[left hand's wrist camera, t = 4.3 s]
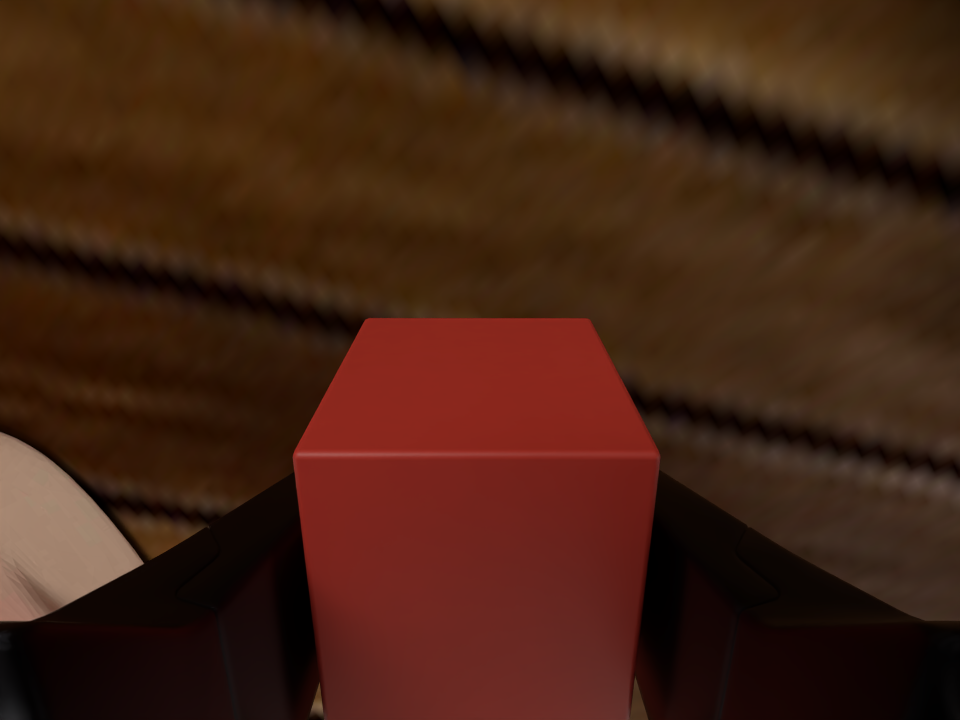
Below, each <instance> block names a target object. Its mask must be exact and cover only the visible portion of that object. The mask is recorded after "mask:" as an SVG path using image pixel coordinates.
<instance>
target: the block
mask: <svg viewBox="0 0 960 720" xmlns="http://www.w3.org/2000/svg"><path fill="white" fill-rule="evenodd" d="M660 458H661V456H660V453H659V451H658V449H657V447H656V445H655V443H654V441H653V439H652V437H651V435H650V433H649V431H648V430H647V428H646V426H645V424H644V422H643V420H642V418H641V416H640V414H639V412H638V410H637V408H636V407H635V405H634V403H633V401H632V399H631V397H630V395H629V393H628V391H627V389H626V387H625V385H624V384H623V382H622V380H621V378H620V376H619V374H618V372H617V370H616V368H615V366H614V364H613V362H612V360H611V359H610V357H609V355H608V353H607V351H606V349H605V347H604V345H603V343H602V341H601V339H600V337H599V336H598V334H597V332H596V330H595V328H594V326H593V324H592V322H591V320H589V319H587V318H368V319H366V320H365V321H364V323H363V325H362V327H361V329H360V331H359V332H358V334H357V336H356V338H355V340H354V342H353V344H352V345H351V347H350V349H349V351H348V353H347V355H346V357H345V358H344V360H343V362H342V364H341V366H340V368H339V370H338V371H337V373H336V375H335V377H334V379H333V381H332V382H331V384H330V386H329V388H328V390H327V392H326V394H325V395H324V397H323V399H322V401H321V403H320V405H319V407H318V408H317V410H316V412H315V414H314V416H313V418H312V420H311V421H310V423H309V425H308V427H307V429H306V431H305V433H304V434H303V436H302V438H301V440H300V442H299V444H298V446H297V447H296V449H295V451H294V454H293V463H294V471H295V480H296V488H297V496H298V505H299V513H300V521H301V530H302V538H303V546H304V555H305V563H306V571H307V579H308V588H309V596H310V604H311V613H312V621H313V629H314V638H315V646H316V654H317V663H318V671H319V679H320V688H321V696H322V704H323V713H324V720H630V713H631V704H632V696H633V687H634V679H635V670H636V662H637V653H638V645H639V636H640V628H641V619H642V611H643V602H644V594H645V585H646V577H647V568H648V560H649V551H650V543H651V534H652V526H653V517H654V509H655V500H656V492H657V483H658V475H659V466H660Z"/></svg>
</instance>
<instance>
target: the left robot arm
mask: <svg viewBox="0 0 960 720" xmlns="http://www.w3.org/2000/svg"><path fill="white" fill-rule="evenodd" d="M635 676H636V680H637V683H638V686H639V690H640V693H641V696H642V700H643V703H644V706H645V710H646V713H647V716H648V720H960V621H924V620H921V619H919V618H916V617H913V616H911V615H908V614H906V613H904V612H902V611H900V610H898V609H896V608H894V607H892V606H890V605H889V604H887V603H885V602H883V601H881V600H879V599H877V598H875V597H873V596H872V595H870V594H868V593H866V592H864V591H862V590H860V589H858V588H856V587H855V586H853V585H851V584H849V583H847V582H845V581H843V580H841V579H839V578H838V577H836V576H834V575H832V574H830V573H828V572H826V571H824V570H822V569H821V568H819V567H817V566H815V565H813V564H811V563H810V562H808V561H806V560H804V559H802V558H801V557H799V556H797V555H795V554H793V553H792V552H790V551H788V550H787V549H785V548H783V547H782V546H780V545H778V544H777V543H775V542H773V541H772V540H770V539H768V538H767V537H765V536H763V535H762V534H760V533H759V532H757V531H756V530H754V529H752V528H751V527H749V528H748V526H747V525H746V524H744V523H743V522H741V521H740V520H738V519H736V518H735V517H733V516H732V515H730V514H728V513H727V512H725V511H724V510H722V509H721V508H719V507H717V506H716V505H714V504H713V503H711V502H709V501H708V500H706V499H705V498H703V497H702V496H700V495H698V494H697V493H695V492H694V491H692V490H690V489H689V488H687V487H686V486H684V485H683V484H681V483H679V482H678V481H676V480H675V479H673V478H671V477H670V476H668V475H667V474H665V473H663V472H662V471H660V470H659V475H658V483H657V492H656V500H655V509H654V517H653V526H652V534H651V543H650V551H649V560H648V568H647V577H646V585H645V594H644V602H643V611H642V619H641V628H640V636H639V645H638V653H637V662H636V670H635ZM319 682H320V679H319V671H318V663H317V654H316V646H315V638H314V629H313V621H312V613H311V604H310V596H309V588H308V579H307V571H306V563H305V555H304V546H303V538H302V530H301V521H300V513H299V505H298V496H297V488H296V480H295V472H293V473H292V474H290V475H289V476H287V477H285V478H284V479H282V480H281V481H279V482H277V483H276V484H274V485H273V486H271V487H269V488H268V489H266V490H265V491H263V492H261V493H260V494H258V495H257V496H255V497H253V498H252V499H250V500H249V501H247V502H245V503H244V504H242V505H241V506H239V507H237V508H236V509H234V510H233V511H231V512H229V513H228V514H226V515H225V516H223V517H221V518H220V519H218V520H217V521H215V522H213V523H212V524H210V525H209V527H206V528H204V529H202V530H201V531H199V532H197V533H196V534H194V535H193V536H191V537H189V538H188V539H186V540H184V541H183V542H181V543H179V544H178V545H176V546H174V547H173V548H171V549H169V550H168V551H166V552H164V553H163V554H161V555H159V556H157V557H155V558H153V559H152V560H150V561H148V562H146V563H144V564H142V565H141V566H139V567H137V568H135V569H133V570H131V571H129V572H127V573H126V574H124V575H122V576H120V577H118V578H116V579H114V580H112V581H110V582H108V583H107V584H105V585H103V586H101V587H99V588H97V589H95V590H93V591H91V592H89V593H88V594H86V595H84V596H82V597H80V598H78V599H76V600H74V601H72V602H70V603H69V604H67V605H65V606H63V607H61V608H59V609H57V610H55V611H53V612H51V613H49V614H47V615H44V616H42V617H39V618H36V619H33V620H31V621H0V720H308V718H309V715H310V712H311V708H312V705H313V702H314V698H315V695H316V692H317V689H318V685H319Z"/></svg>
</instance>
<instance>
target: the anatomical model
mask: <svg viewBox="0 0 960 720" xmlns="http://www.w3.org/2000/svg"><path fill="white" fill-rule="evenodd" d="M142 564H144V563H143V561H142V560H141V558H140V557H139V556H138V554H137V553H136V551H135V550H134V549H133V547H132V546H131V545H130V544H129V542H128V541H127V540H126V539H125V537H124V536H123V535H122V534H121V532H120V531H119V530H118V529H117V527H116V526H115V525H114V524H113V522H112V521H111V520H110V519H109V517H108V516H107V515H106V514H105V513H104V512H103V511H102V509H101V508H100V507H99V506H98V505H97V504H96V503H95V501H94V500H93V499H92V498H91V497H90V496H89V495H88V494H87V493H86V492H85V491H84V490H83V489H82V488H81V487H80V486H79V485H78V484H77V483H76V482H75V481H74V480H73V479H72V478H71V477H70V476H69V475H68V474H67V473H65V472H64V471H63V470H62V469H61V468H60V467H58V466H57V465H56V464H55V463H54V462H52V461H51V460H50V459H49V458H47V457H46V456H45V455H44V454H42V453H40V452H39V451H37V450H36V449H34V448H33V447H31V446H29V445H27V444H26V443H24V442H22V441H20V440H18V439H17V438H14V437H12V436H9V435H7V434H5V433H2V432H0V621H31V620H33V619H36V618H39V617H42V616H44V615H47V614H49V613H51V612H53V611H55V610H57V609H59V608H61V607H63V606H65V605H67V604H69V603H70V602H72V601H74V600H76V599H78V598H80V597H82V596H84V595H86V594H88V593H89V592H91V591H93V590H95V589H97V588H99V587H101V586H103V585H105V584H107V583H108V582H110V581H112V580H114V579H116V578H118V577H120V576H122V575H124V574H126V573H127V572H129V571H131V570H133V569H135V568H137V567H139V566H141V565H142Z"/></svg>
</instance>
